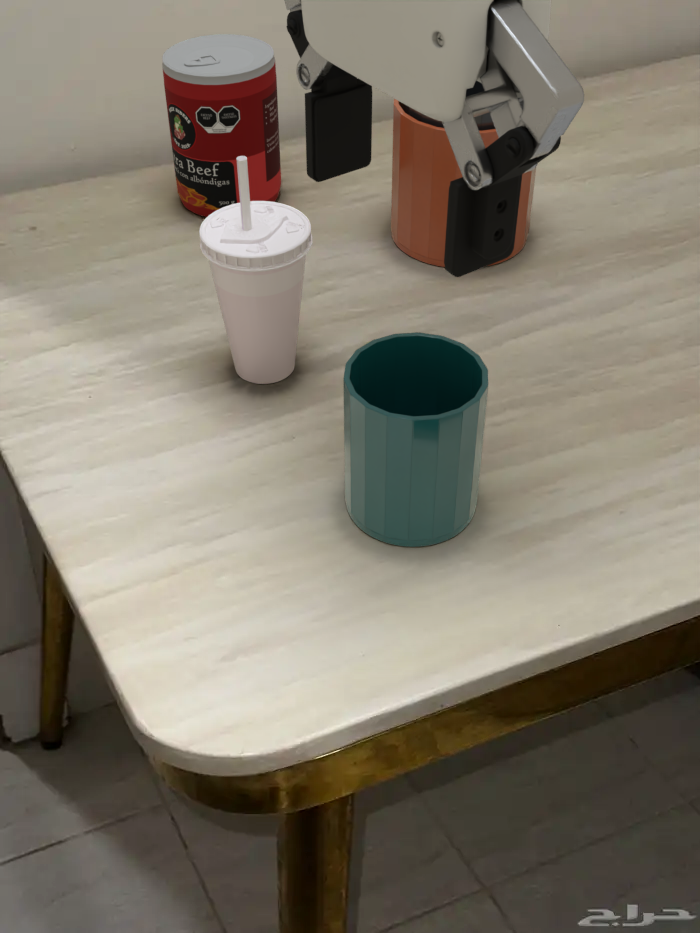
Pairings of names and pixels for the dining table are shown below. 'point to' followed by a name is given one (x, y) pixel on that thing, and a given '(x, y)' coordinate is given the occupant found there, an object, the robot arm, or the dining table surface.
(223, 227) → the smoothie
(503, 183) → the robot arm
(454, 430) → the teal cup
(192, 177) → the canned food
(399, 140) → the stack
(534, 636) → the dining table surface
